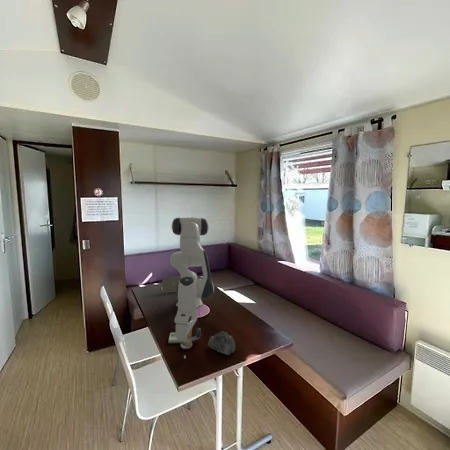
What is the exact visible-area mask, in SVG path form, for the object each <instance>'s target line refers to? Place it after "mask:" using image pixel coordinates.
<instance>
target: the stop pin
mask: <svg viewBox="0 0 450 450" xmlns="http://www.w3.org/2000/svg"><path fill="white" fill-rule="evenodd" d="M192 331H193V327H192V328H191V330H190V332H189V333H188V335H187V336H188V341H187V342H185V347H190V346H191V342H192V341H191V337H192V336H193V335H192V333H193V332H192Z"/></svg>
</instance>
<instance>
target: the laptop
mask: <svg viewBox="0 0 450 450" xmlns="http://www.w3.org/2000/svg"><path fill="white" fill-rule="evenodd" d="M180 279H181V276H180V275H176V276H175V275H174V276H173V275H172V276H165V277H164V276H163V277H161V287H160V289H161V293H162V294H167V293H175V292H176V293H177V291H176V287H177V284H178V283H179V281H180Z"/></svg>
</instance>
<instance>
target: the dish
mask: <svg viewBox="0 0 450 450" xmlns="http://www.w3.org/2000/svg"><path fill="white" fill-rule="evenodd" d="M181 342H182V341H181V340H177V339H176V332H170V333H169V337H168V344H181Z"/></svg>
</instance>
